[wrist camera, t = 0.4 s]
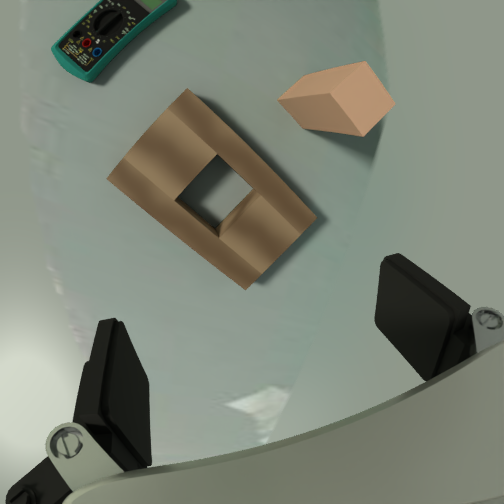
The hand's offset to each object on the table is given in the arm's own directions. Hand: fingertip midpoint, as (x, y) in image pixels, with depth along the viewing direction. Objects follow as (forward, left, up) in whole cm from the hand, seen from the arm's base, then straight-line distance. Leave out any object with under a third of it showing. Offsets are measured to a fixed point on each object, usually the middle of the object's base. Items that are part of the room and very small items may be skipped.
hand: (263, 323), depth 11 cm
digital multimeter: (-7, -21, -30) cm, 38 cm away
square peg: (-16, +3, -30) cm, 34 cm away
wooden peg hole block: (0, +3, -30) cm, 30 cm away
